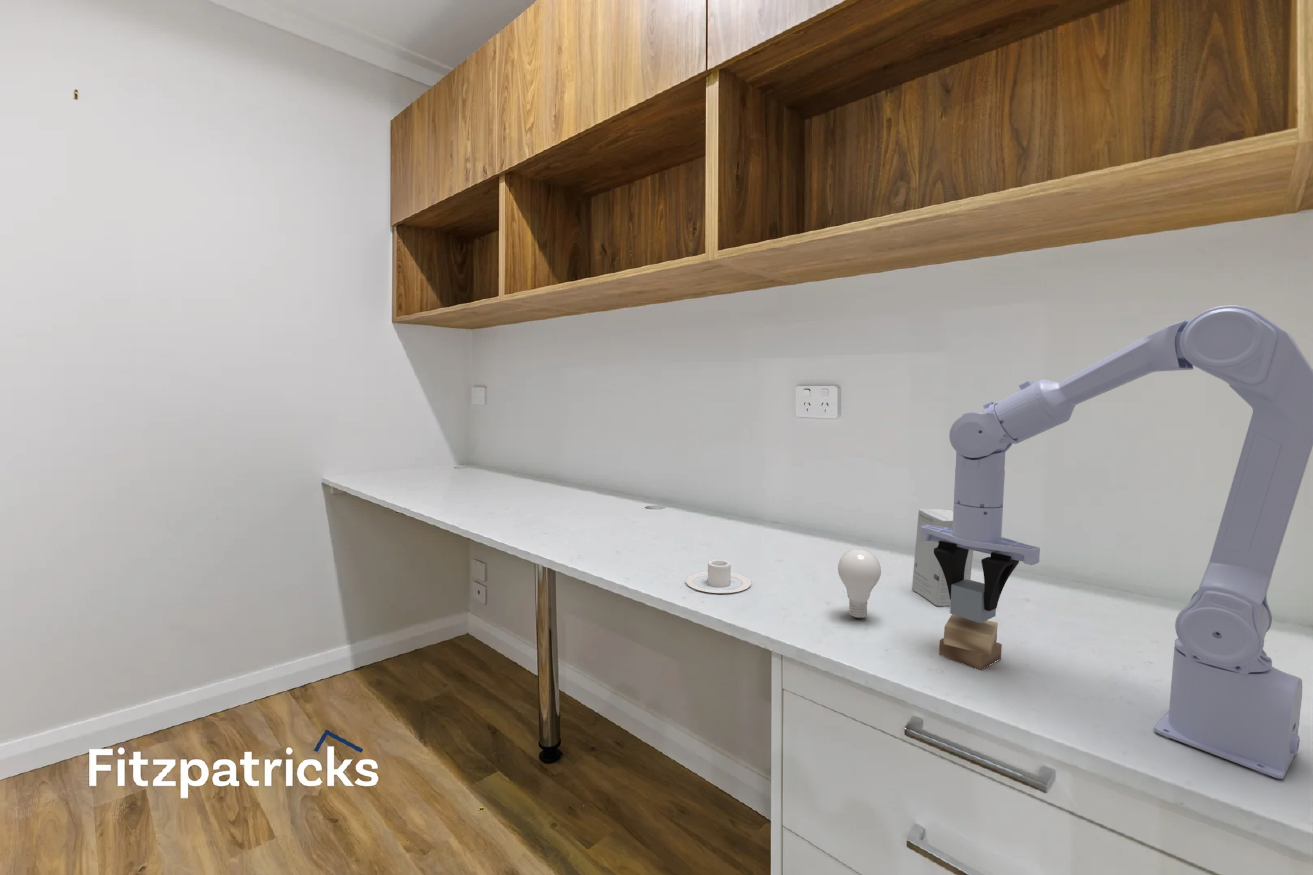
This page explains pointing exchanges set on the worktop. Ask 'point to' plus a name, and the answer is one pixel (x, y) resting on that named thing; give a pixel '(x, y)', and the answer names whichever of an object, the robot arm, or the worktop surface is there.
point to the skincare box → (933, 559)
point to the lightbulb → (859, 579)
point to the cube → (969, 601)
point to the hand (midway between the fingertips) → (973, 603)
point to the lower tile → (970, 655)
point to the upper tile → (970, 634)
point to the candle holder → (719, 577)
